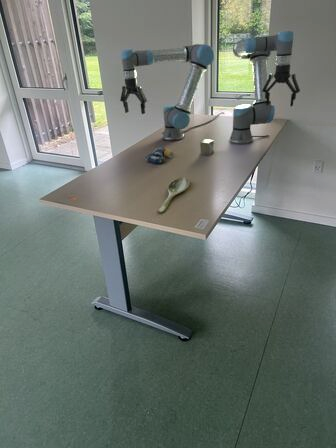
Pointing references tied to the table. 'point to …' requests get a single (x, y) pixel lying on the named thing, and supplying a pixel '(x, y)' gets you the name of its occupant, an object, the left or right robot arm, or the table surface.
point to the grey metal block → (207, 147)
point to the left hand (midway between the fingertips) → (135, 113)
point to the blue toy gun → (159, 155)
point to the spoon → (175, 190)
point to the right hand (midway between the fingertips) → (279, 105)
